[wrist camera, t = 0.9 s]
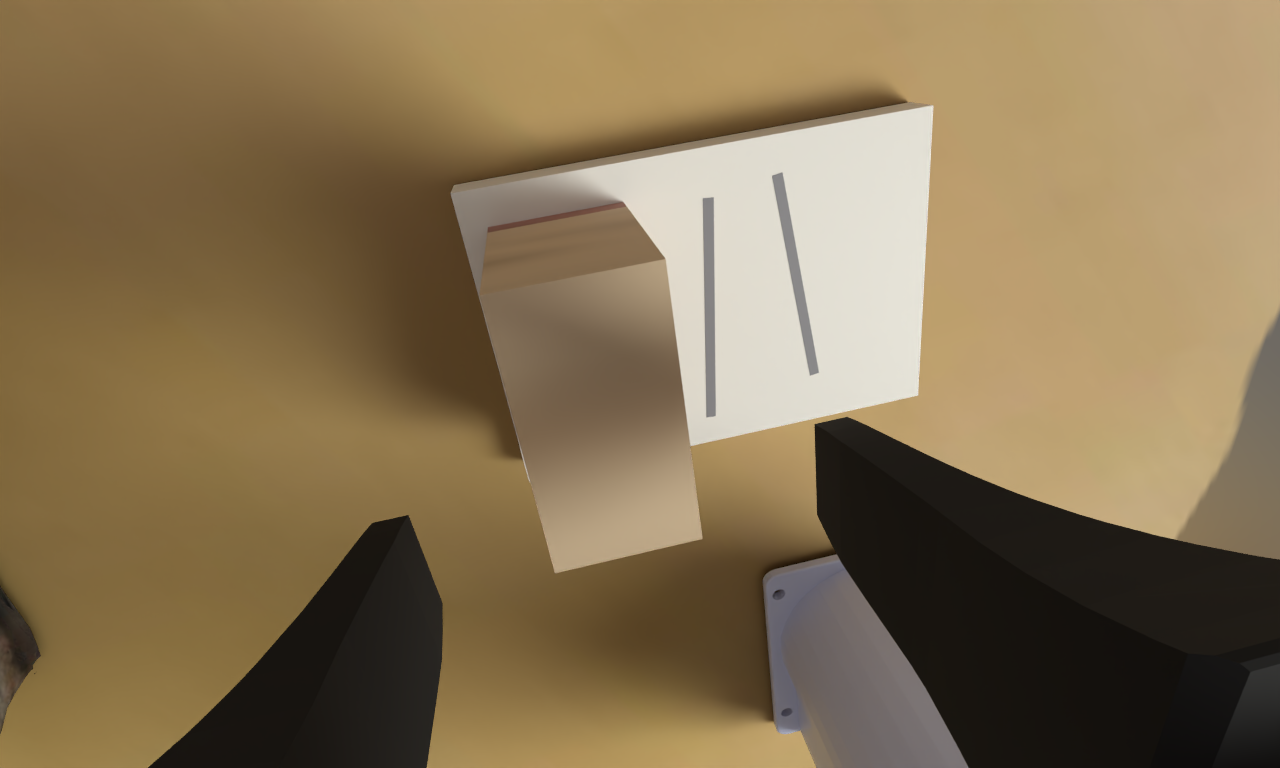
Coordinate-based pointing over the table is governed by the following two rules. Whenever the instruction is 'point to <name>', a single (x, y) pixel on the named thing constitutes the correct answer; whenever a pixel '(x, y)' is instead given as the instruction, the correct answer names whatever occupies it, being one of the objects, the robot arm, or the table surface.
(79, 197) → the table surface
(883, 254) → the board
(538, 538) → the table surface
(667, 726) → the table surface
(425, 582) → the robot arm
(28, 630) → the stone block
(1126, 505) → the table surface
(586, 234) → the block
